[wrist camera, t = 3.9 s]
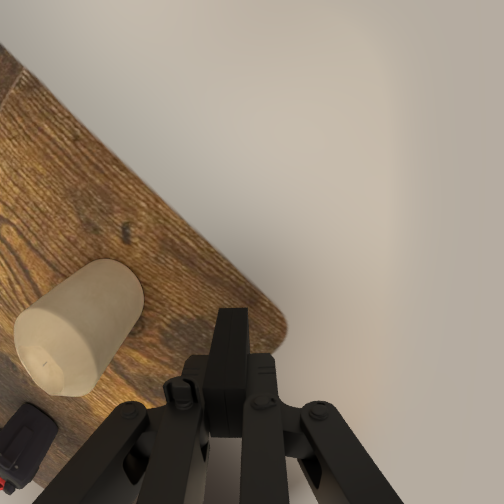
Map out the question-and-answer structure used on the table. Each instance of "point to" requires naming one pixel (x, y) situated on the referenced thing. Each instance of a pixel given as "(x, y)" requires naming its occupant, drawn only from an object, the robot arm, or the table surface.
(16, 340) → the candle
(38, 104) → the table surface
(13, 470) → the two-way radio
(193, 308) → the table surface
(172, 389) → the robot arm
